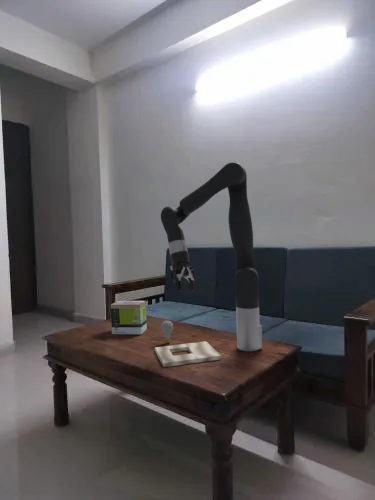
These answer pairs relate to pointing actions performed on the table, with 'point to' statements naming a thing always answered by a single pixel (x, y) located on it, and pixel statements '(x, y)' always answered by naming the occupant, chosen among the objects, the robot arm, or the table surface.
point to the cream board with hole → (197, 350)
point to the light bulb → (167, 330)
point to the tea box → (128, 317)
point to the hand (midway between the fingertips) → (186, 290)
